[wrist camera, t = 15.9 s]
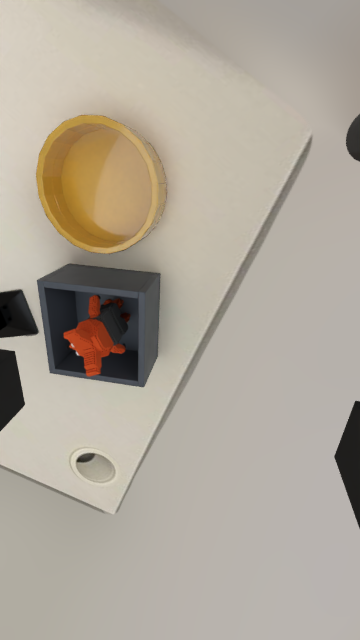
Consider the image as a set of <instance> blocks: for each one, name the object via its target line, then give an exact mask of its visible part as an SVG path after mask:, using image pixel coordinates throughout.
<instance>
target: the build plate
mask: <svg viewBox="0 0 360 640" xmlns="http://www.w3.org/2000/svg"><path fill="white" fill-rule="evenodd" d="M38 333H39V332H38V329H37V327H36V324H35V321H34V319H33V316H32V314H31V311H30V309H29V306H28V304H27V301H26V299H25V296H24V294H23V291H22V290H15V291H8V292H1V293H0V338H4V337H14V336H23V335H25V336H32V335H36V334H38Z"/></svg>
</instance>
